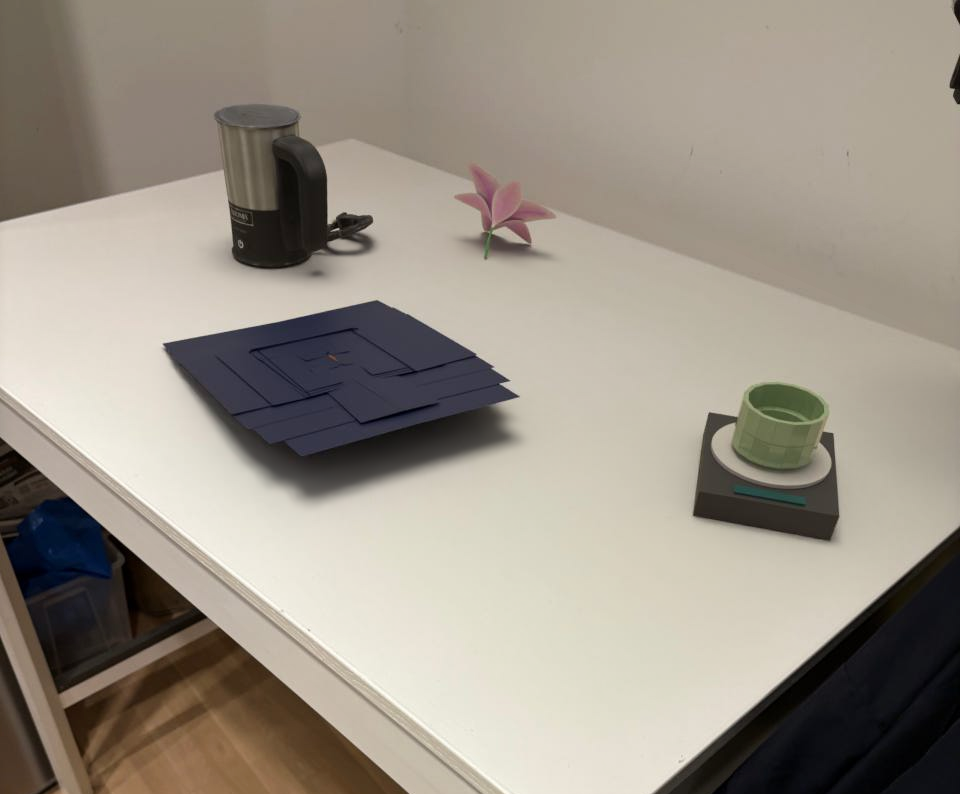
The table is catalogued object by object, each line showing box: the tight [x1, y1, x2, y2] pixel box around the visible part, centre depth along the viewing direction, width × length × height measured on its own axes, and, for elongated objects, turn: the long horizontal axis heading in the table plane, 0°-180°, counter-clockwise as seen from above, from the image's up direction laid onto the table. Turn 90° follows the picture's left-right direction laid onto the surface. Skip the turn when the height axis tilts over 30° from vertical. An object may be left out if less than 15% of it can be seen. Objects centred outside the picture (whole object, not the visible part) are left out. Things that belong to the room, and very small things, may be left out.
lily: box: [453, 160, 558, 260], centre depth 112 cm, size 12×12×10 cm
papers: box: [162, 299, 521, 457], centre depth 87 cm, size 24×30×4 cm
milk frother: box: [212, 102, 374, 268], centre depth 106 cm, size 14×16×15 cm
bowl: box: [732, 381, 830, 470], centre depth 77 cm, size 7×7×5 cm
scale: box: [692, 411, 840, 541], centre depth 79 cm, size 11×13×3 cm
